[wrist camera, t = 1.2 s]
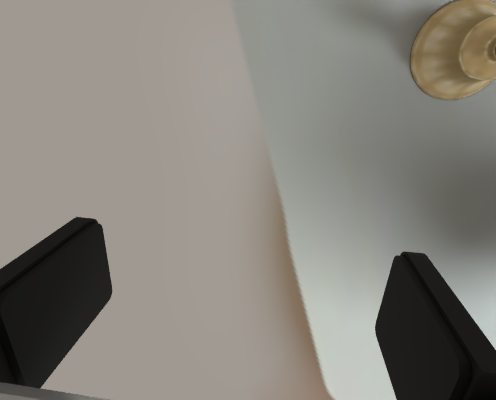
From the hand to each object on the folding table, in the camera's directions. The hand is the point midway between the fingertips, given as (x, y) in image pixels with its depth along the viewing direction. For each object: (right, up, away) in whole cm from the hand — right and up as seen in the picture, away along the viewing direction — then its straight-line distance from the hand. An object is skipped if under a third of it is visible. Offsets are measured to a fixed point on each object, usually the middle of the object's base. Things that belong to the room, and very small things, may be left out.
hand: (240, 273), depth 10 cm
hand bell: (+19, +16, +18) cm, 31 cm away
